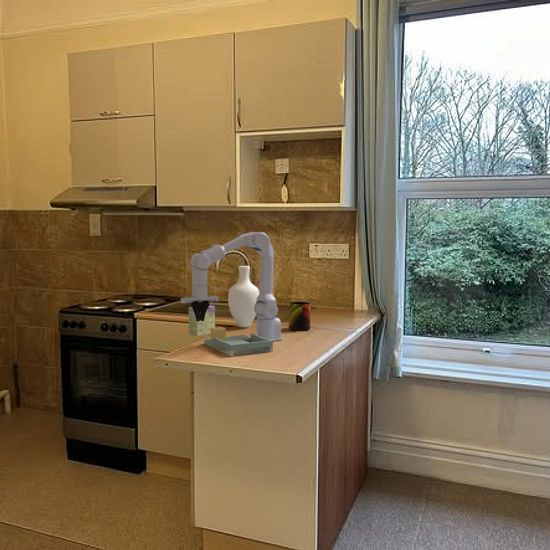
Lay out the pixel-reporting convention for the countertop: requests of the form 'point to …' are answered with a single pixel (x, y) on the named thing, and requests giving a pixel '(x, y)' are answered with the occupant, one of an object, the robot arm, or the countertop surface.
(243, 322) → the vase
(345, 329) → the countertop surface
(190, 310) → the box
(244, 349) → the trap tray
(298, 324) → the mug
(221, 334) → the ochre block
